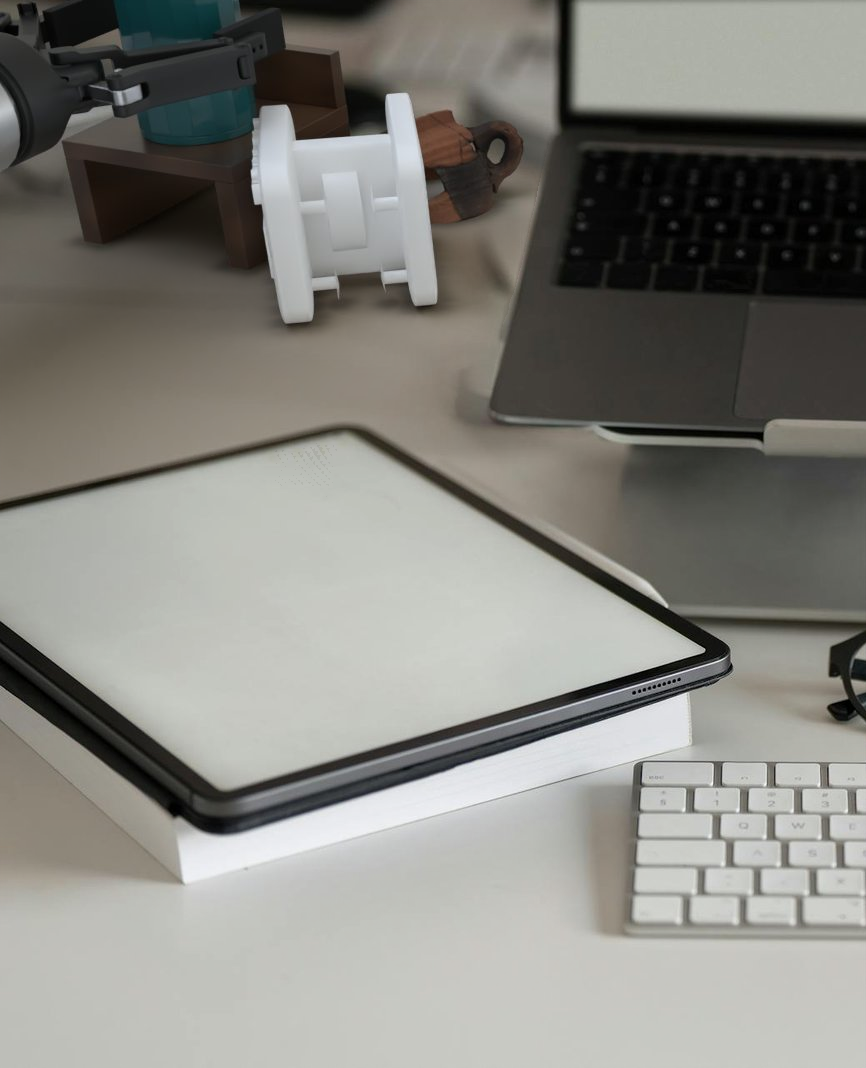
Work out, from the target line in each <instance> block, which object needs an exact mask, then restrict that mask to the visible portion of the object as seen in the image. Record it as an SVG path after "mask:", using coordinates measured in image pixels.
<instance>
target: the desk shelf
mask: <svg viewBox="0 0 866 1068" xmlns="http://www.w3.org/2000/svg"><path fill="white" fill-rule="evenodd" d="M285 44H286V48H285V49H283V50H281V51H279V52H277V53H275V54H273V55H271V56H269V57H266V58H264V59H262V60H260V61H258V62H256V63H254V70H255V76H256V83H255V84H253V91H254V97H255V103H256V109H257V118H259V115H260V109H261V107H262V106H273V105H287V106H288V108H289V110H290V113H291V116H292V120H293V125H294V130H295V137H296V141H297V140H311V139H324V138H338V137H351V130H350V129H351V128H350V122H349V113H348V106H347V100H346V91H345V85H344V77H343V71H342V64H341V63H342V62H341V56H340V54H341V53H340V50H336V49H330V48H322V47H316V46H307V45H299V44H292V43H285ZM252 131H254V129H253V130H251V131H250V132H248V133H246V134H244V135H242V136H239V137H237V138H234V139H230V140H227V141H222V142H217V143H211V144H204V145H189V146H180V145H166V144H160V143H156V142H152V141H149V140H147V139H145V138H144V137H143V136H142V135H141V133H140V129H139V125H138V122H137V118H136V114H135V115H133V116H130V117H127V118H118V117H114V115H113V116H111V117H108V118H107V119H105V120H103V121H100V122H98V123H96V124H93V125H92V126H90V127H87V128H85V129H83V130H81V131H79V132H77V133H74V134H71V135H70V136H67V137H65V138H63V139H60V140H61V146H62V149H63V153H64V158H65V161H66V162H65V163H66V167H67V171H68V176H69V180H70V184H71V189H72V194H73V197H74V201H75V206H76V210H77V215H78V218H79V223H80V228H81V232H82V235H83V237H82V238H83V240H84V242H88V243H94V244H100V245H104V244H106V243H107V242H109V241H111V240H113V239H115V238H117V237H118V236H120V235H122V234H124V233H125V232H127V231H129V230H131V229H133V228H135V227H137V226H139V225H140V224H142V223H144V222H146V221H147V220H150V219H152V218H153V217H155V216H156V215H159V214H161V213H163V212H164V211H167V210H169V209H170V208H171V207H174V206H175V205H177V204H179V203H181V202H182V201H185V200H186V199H188V198H190V197H192V196H194V195H195V194H197V193H199V192H201V191H203V190H205V189H206V188H208V187H210V186H212V185H213V184H214V187H215V191H216V197H217V203H218V209H219V214H220V220H221V225H222V226H221V227H222V232H223V236H224V237H223V238H224V241H225V242H224V243H225V248H226V253H227V259H228V264H229V267H230V268H234V269H240V270H246V271H250V270H252V269H253V268H255V267H257V266H258V265H260V264H261V263H262V262H264V261H266V260H268V254H267V248H266V242H265V236H264V231H263V210H262V204H258V205H255V203H254V198H253V192H252V177H251V170H252V167H253V166H252V160H253V153H252V150H253V142H252V137H253V134H252Z"/></svg>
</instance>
